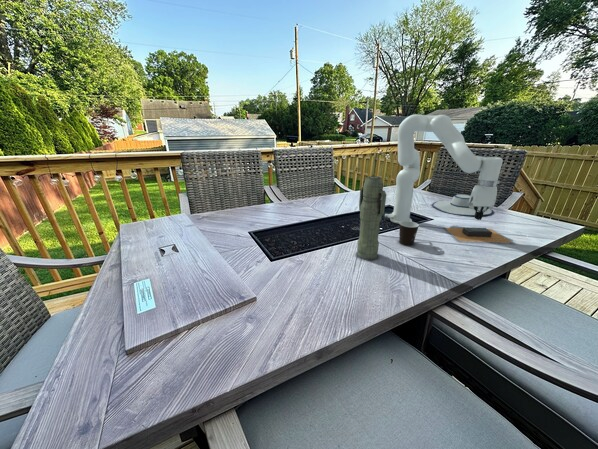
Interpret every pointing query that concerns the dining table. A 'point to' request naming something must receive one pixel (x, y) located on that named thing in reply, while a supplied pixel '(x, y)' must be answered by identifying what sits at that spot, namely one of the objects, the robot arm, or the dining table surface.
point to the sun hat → (458, 206)
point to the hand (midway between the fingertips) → (477, 218)
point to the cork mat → (462, 237)
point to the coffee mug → (407, 232)
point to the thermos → (370, 216)
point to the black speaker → (476, 232)
